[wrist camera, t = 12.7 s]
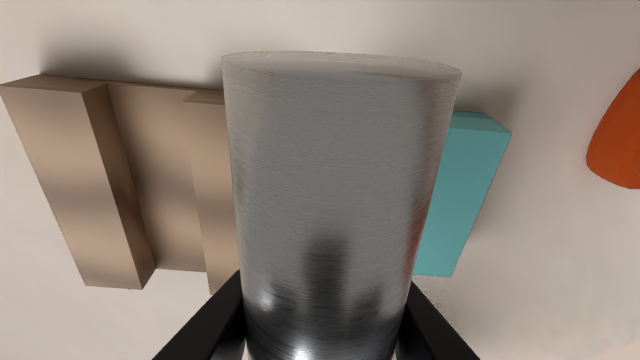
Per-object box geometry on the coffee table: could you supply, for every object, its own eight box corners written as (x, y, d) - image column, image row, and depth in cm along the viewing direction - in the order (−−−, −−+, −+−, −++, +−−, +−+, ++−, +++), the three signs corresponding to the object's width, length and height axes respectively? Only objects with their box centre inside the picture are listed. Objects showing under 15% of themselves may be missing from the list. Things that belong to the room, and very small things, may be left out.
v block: (436, 245, 22) (450, 277, 20) (314, 236, 22) (312, 267, 20) (484, 113, 17) (512, 133, 15) (327, 99, 17) (327, 117, 15)
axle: (358, 398, 13) (371, 532, 10) (266, 395, 13) (247, 529, 10) (420, 57, 7) (517, 87, 4) (249, 48, 7) (177, 70, 4)
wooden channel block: (271, 272, 24) (265, 298, 22) (107, 259, 24) (85, 285, 22) (272, 94, 17) (263, 108, 15) (38, 74, 17) (-4, 85, 15)
